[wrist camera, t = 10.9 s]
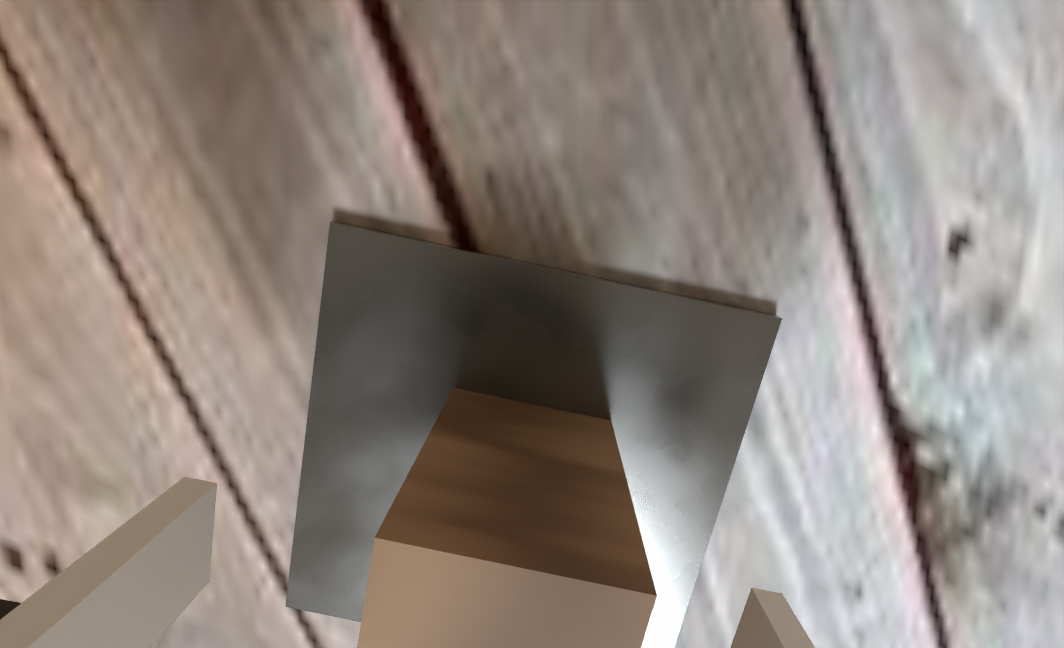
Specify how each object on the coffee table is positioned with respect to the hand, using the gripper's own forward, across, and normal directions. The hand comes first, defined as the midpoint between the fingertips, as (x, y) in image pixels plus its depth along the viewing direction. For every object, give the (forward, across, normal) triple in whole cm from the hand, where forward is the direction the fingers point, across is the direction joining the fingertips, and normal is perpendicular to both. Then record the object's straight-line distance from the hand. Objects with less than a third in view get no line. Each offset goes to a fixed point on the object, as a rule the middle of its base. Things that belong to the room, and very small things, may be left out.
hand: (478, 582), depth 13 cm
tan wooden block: (+5, +1, 0) cm, 5 cm away
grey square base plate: (+5, 0, 0) cm, 5 cm away
